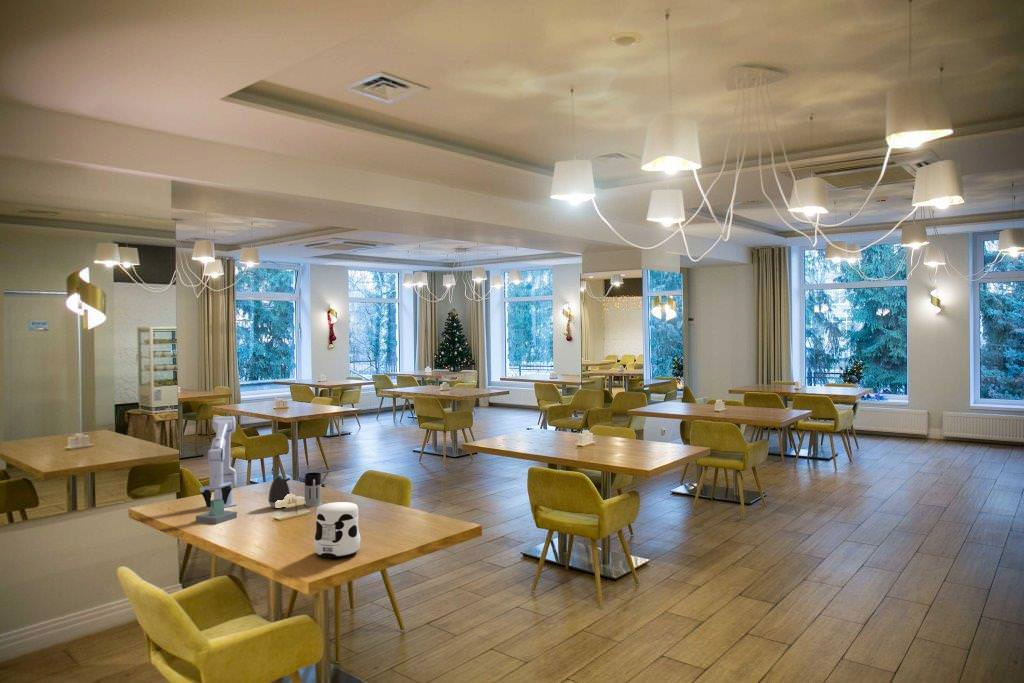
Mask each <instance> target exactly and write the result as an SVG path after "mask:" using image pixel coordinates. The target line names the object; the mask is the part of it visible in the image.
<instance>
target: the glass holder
mask: <svg viewBox="0 0 1024 683" xmlns="http://www.w3.org/2000/svg"><path fill="white" fill-rule="evenodd" d="M305 501H306V506H305V507H308V508H309V506H311V507H312V506H313V507H318V506H320V505H321V504H322V505H323V502H322V473H321V472H317V471H316V472H315V471H314V472H307V473H305V474H304V502H305ZM311 507H310V508H311Z"/></svg>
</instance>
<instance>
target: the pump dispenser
mask: <svg viewBox="0 0 1024 683" xmlns="http://www.w3.org/2000/svg"><path fill="white" fill-rule="evenodd" d="M288 481H291V477H288V478H285V476H282V475H277V476H276V477H274V479H273V480H272V483H271V484H270V487H269V493H268V502H269V505H270V507H271V508H273V509H275V508H274V507H275V502H276V501H277V500H283V499H284V497H285V496H286V495H287V494H290V495H291V491H290V487H289V486H290V485H289V483H288Z"/></svg>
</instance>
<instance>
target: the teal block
mask: <svg viewBox="0 0 1024 683" xmlns="http://www.w3.org/2000/svg"><path fill="white" fill-rule="evenodd" d="M224 510H225V509H224V500H221V499H215V500H214V499H211V506H210V507H208V512H209V514H211V515H214V516H215V515H220V514H224Z"/></svg>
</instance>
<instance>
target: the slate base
mask: <svg viewBox="0 0 1024 683" xmlns="http://www.w3.org/2000/svg"><path fill="white" fill-rule="evenodd" d="M237 518H238V512H237V511H232V510H225V509H224V514H220V515H215V516H214V515H211V514H209V511H207V512H204V513H201V514H197V515H195V522H199V523H205V524H212V525H218V524H221V523H224V522H227V521H230V520H231V521H232V520H233V519H237Z"/></svg>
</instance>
